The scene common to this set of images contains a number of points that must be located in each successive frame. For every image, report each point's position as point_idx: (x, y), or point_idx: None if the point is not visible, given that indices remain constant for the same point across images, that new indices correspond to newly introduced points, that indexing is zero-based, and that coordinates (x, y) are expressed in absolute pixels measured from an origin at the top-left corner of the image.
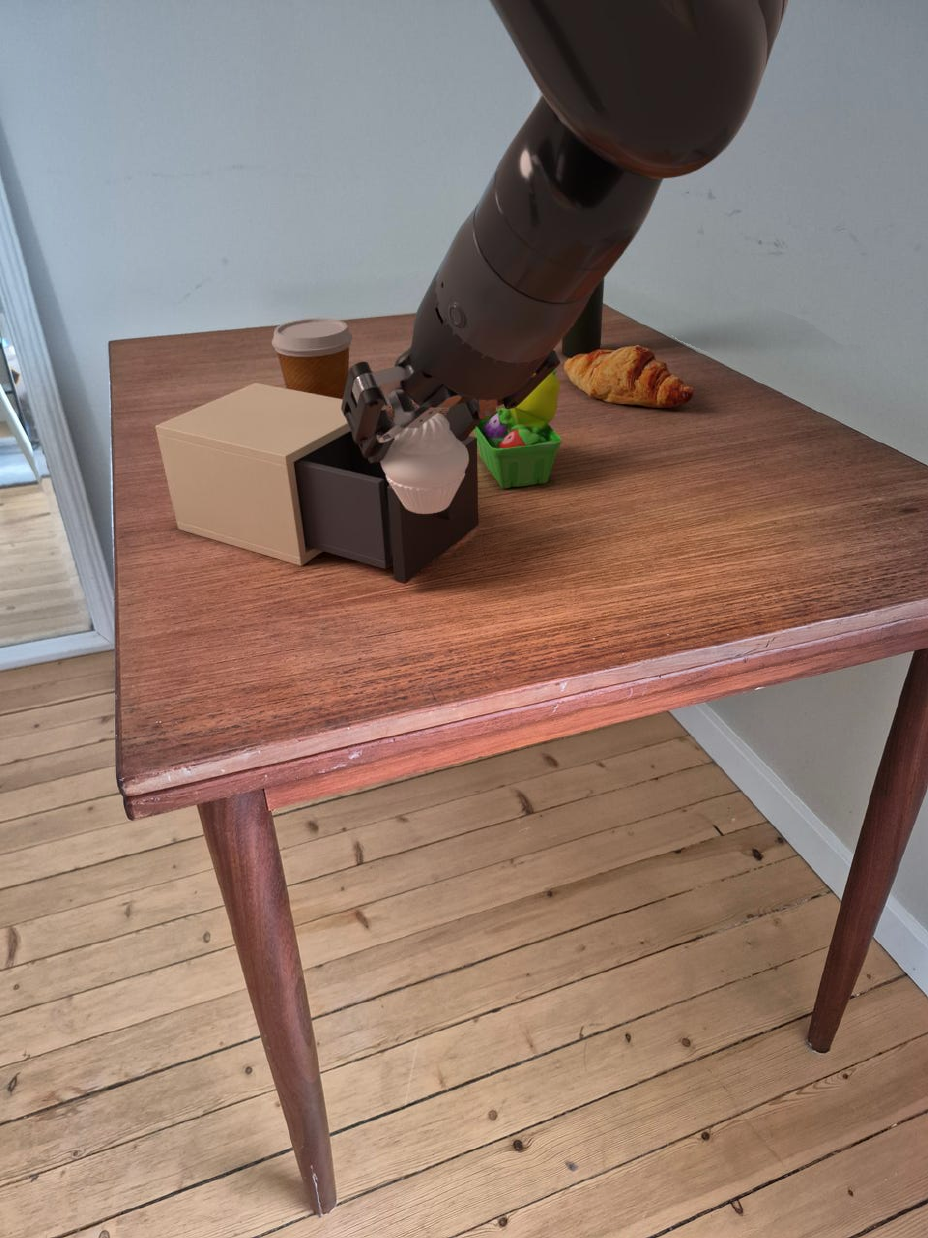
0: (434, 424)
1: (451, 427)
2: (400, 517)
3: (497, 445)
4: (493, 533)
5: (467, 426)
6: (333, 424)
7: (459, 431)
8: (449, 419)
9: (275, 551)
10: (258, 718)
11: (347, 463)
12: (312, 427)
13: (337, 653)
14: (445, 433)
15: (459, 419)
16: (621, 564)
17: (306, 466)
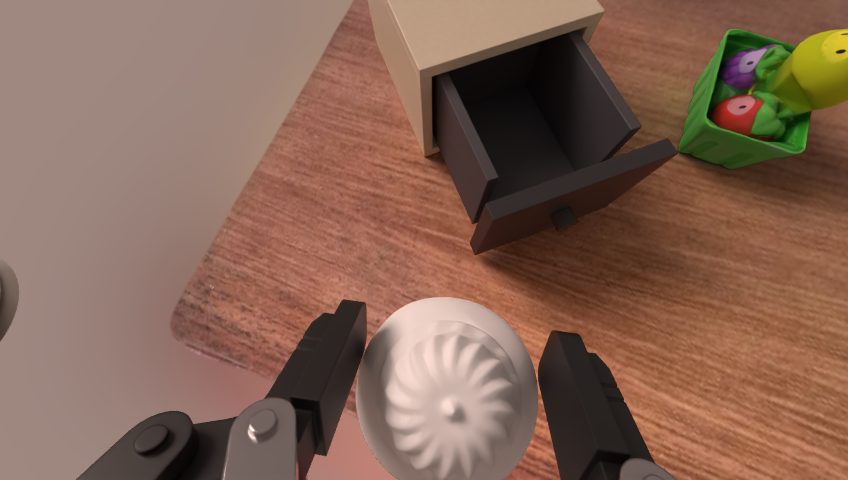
0: (446, 475)
1: (548, 362)
2: (486, 232)
3: (719, 101)
4: (613, 219)
5: (556, 451)
6: (521, 26)
7: (548, 400)
8: (554, 355)
9: (413, 128)
10: (266, 337)
11: (532, 59)
12: (494, 19)
13: (368, 299)
14: (476, 466)
15: (559, 409)
16: (699, 362)
17: (443, 89)
